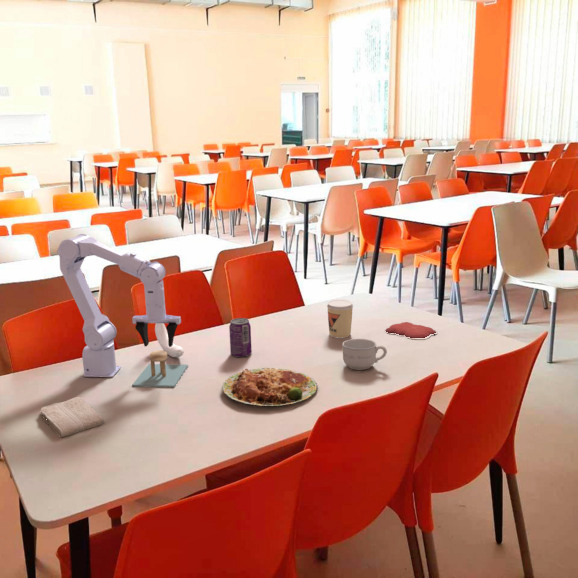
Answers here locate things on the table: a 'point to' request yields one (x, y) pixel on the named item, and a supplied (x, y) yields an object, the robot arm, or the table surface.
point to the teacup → (361, 353)
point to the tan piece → (158, 357)
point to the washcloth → (71, 416)
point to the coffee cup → (340, 318)
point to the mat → (160, 376)
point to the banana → (163, 341)
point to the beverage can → (240, 337)
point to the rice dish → (269, 386)
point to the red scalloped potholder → (410, 330)
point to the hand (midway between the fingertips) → (158, 345)
